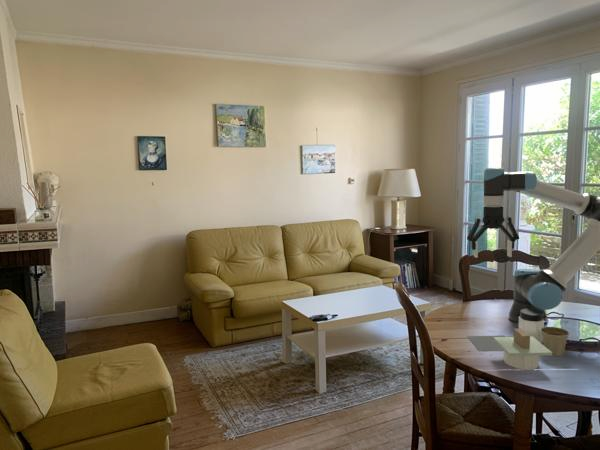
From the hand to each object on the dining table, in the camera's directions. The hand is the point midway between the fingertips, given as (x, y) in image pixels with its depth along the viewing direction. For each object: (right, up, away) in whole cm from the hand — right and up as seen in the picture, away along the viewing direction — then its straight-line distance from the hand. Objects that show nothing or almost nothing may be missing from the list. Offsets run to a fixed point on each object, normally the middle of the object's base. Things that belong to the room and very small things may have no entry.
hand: (492, 256), depth 184 cm
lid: (-2, -30, -28) cm, 41 cm away
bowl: (-2, -36, -27) cm, 45 cm away
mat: (-5, -34, -10) cm, 35 cm away
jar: (+11, -33, -9) cm, 36 cm away
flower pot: (+14, -34, -21) cm, 42 cm away
